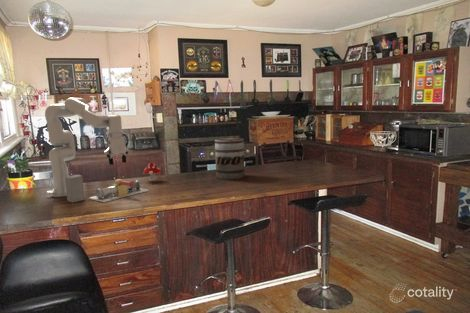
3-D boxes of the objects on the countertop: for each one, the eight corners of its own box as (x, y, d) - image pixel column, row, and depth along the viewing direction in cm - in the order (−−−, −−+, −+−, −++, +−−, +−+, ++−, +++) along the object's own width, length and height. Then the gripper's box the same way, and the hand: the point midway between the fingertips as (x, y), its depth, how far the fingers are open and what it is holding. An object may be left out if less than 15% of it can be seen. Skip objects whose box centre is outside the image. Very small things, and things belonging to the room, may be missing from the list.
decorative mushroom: (159, 183, 268) (158, 163, 266) (141, 183, 269) (139, 163, 267) (163, 179, 282) (162, 160, 280) (146, 179, 283) (144, 161, 281)
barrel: (223, 181, 269) (222, 141, 265) (211, 176, 289) (210, 139, 285) (249, 177, 280) (249, 139, 275) (236, 173, 299) (235, 137, 295)
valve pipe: (103, 202, 217) (103, 191, 216) (89, 199, 226) (88, 188, 225) (148, 191, 244) (147, 180, 243) (133, 188, 253) (133, 178, 252)
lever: (114, 184, 233) (113, 179, 233) (119, 182, 237) (119, 178, 236) (130, 186, 223) (130, 181, 223) (136, 185, 227) (136, 180, 226)
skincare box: (79, 198, 228) (77, 174, 226) (85, 200, 224) (83, 175, 221) (66, 201, 222) (64, 176, 219) (72, 203, 217) (69, 177, 215)
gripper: (106, 136, 210) (109, 166, 213) (131, 134, 224) (133, 161, 226) (99, 136, 215) (101, 165, 217) (124, 134, 229) (125, 161, 231)
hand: (117, 163), depth 222 cm, fingers open, 8 cm apart
